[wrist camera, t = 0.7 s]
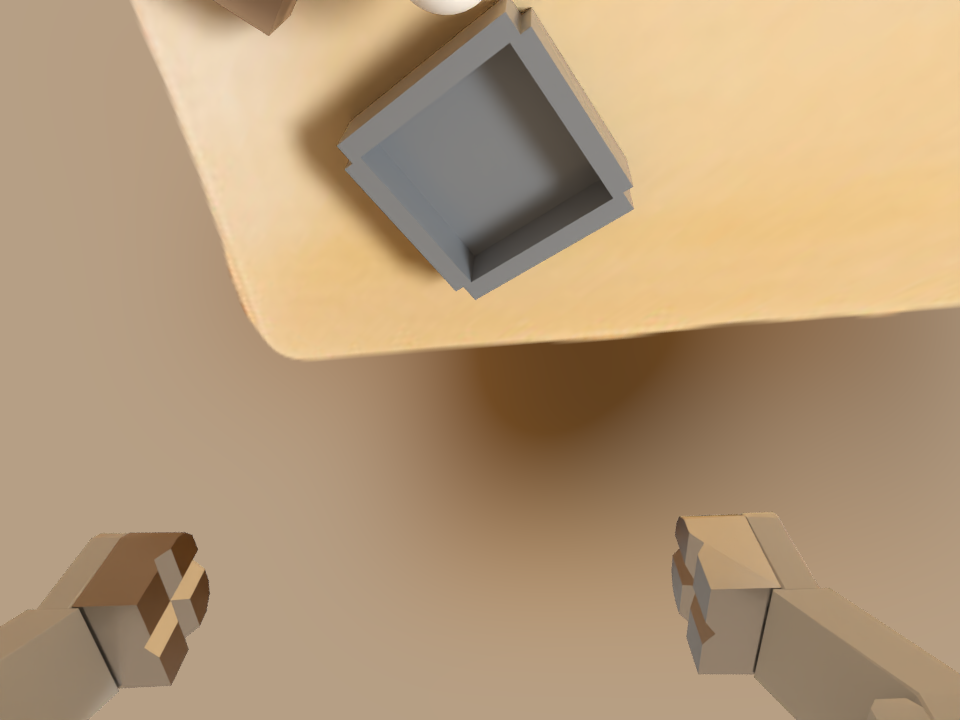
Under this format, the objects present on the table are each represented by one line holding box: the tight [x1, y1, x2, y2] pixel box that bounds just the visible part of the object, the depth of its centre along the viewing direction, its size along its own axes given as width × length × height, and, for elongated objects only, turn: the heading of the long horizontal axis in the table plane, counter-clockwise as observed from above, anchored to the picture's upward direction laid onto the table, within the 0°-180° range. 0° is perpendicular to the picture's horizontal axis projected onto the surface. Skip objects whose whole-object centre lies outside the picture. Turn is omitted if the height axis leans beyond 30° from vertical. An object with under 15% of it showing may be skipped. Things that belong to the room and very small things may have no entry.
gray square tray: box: [337, 0, 634, 300], centre depth 48 cm, size 16×16×4 cm
